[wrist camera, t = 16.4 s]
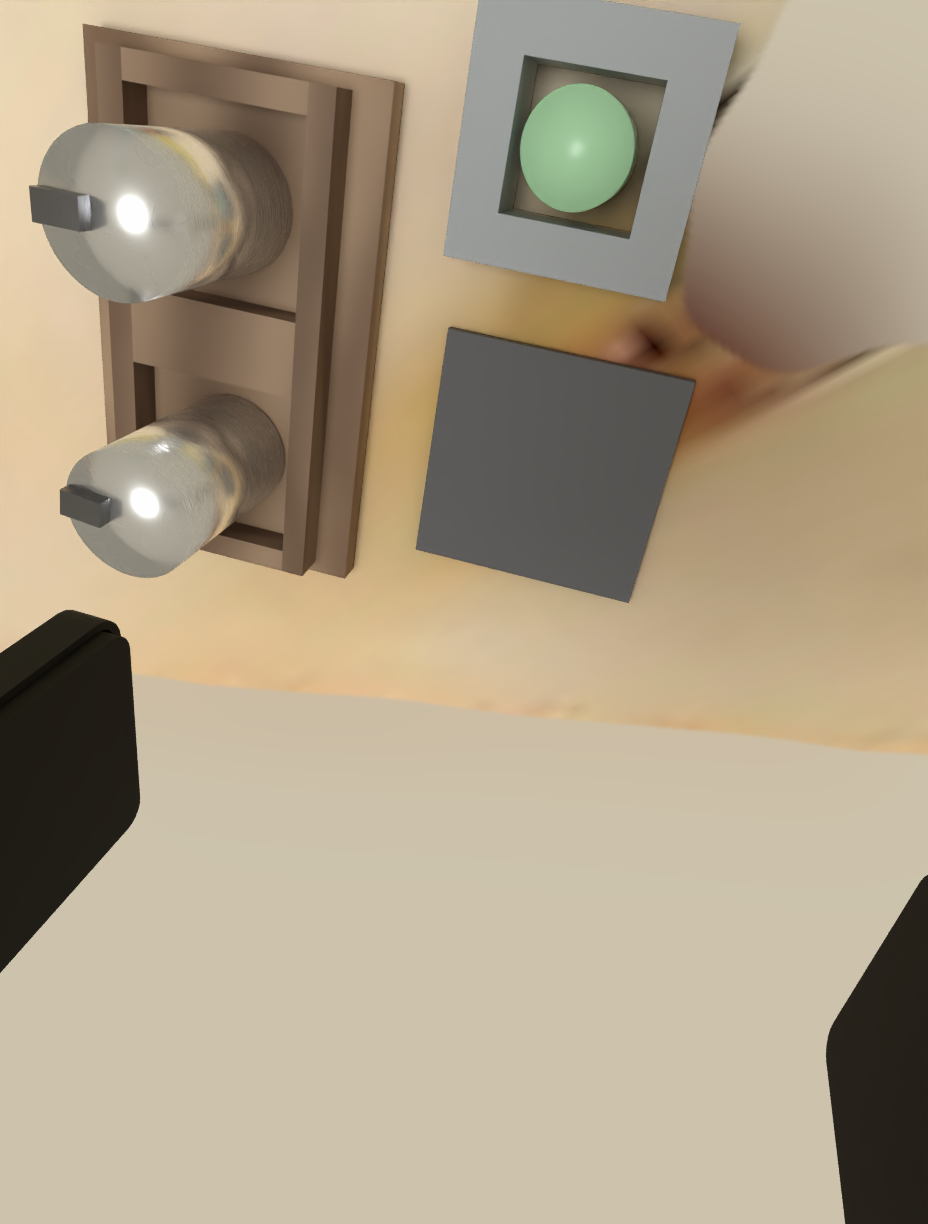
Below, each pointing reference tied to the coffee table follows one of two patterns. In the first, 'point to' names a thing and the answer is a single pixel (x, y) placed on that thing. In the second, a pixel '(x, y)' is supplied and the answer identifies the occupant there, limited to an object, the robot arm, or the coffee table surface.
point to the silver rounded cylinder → (173, 484)
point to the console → (499, 108)
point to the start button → (578, 148)
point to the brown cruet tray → (266, 281)
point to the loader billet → (160, 208)
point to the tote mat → (548, 462)
